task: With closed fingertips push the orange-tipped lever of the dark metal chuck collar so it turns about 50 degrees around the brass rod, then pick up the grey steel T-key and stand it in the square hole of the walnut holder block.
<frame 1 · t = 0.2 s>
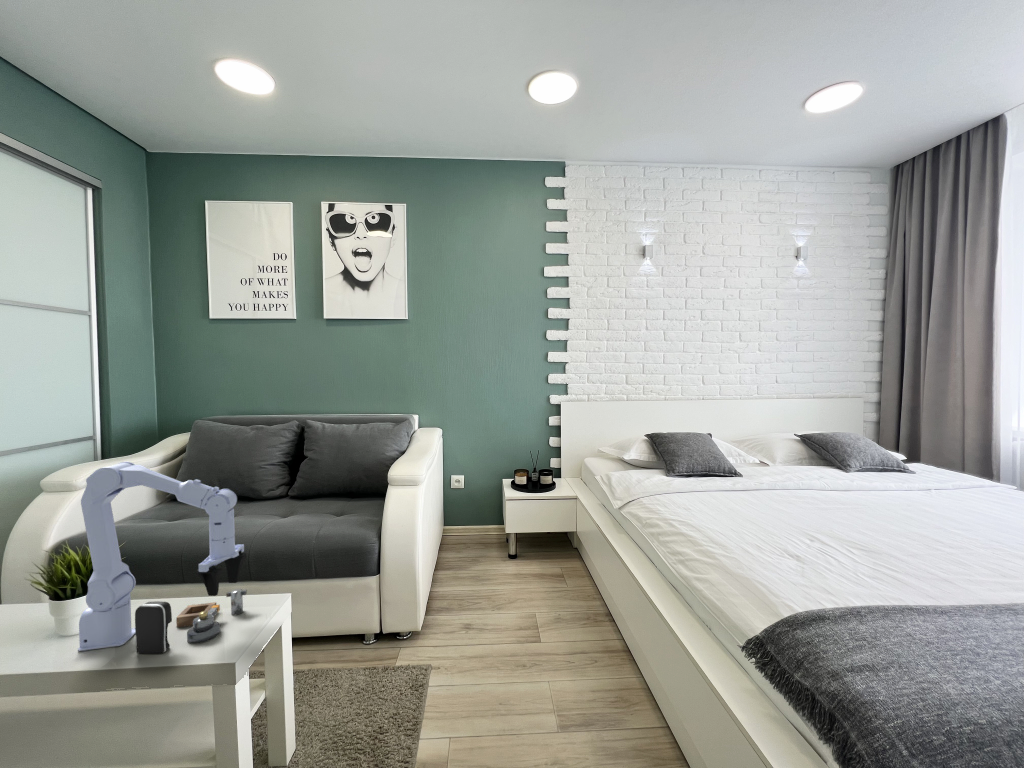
hand: (223, 588, 124), 10 cm above the table, fingers open, 7 cm apart
holder: (197, 619, 128), on the table
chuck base: (204, 636, 119), on the table
key: (237, 612, 131), on the table
collar: (208, 616, 122), point 3 cm above the table, hinge at 0.0°
battery charger: (155, 651, 113), on the table
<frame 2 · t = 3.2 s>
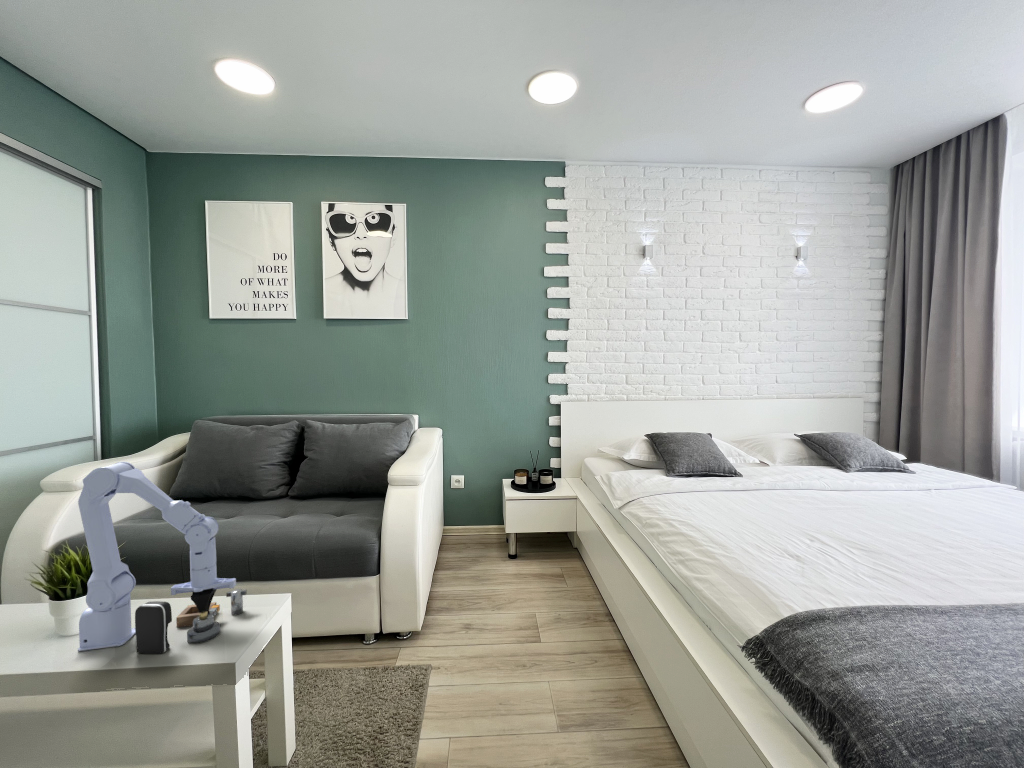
hand: (205, 618, 123), 3 cm above the table, fingers closed, pressing on collar
collar: (208, 616, 122), point 3 cm above the table, hinge at 0.0°, touching gripper
everything else where it was.
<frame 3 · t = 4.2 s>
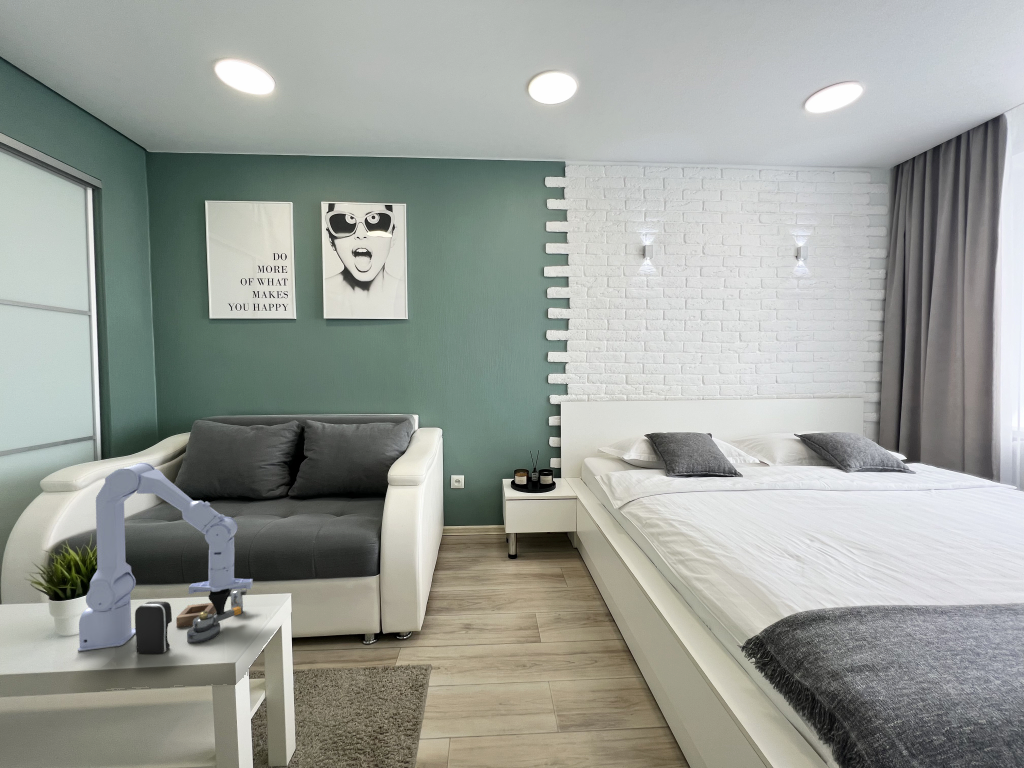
hand: (220, 617, 124), 2 cm above the table, fingers closed, pressing on collar
collar: (217, 617, 121), point 3 cm above the table, hinge at 51.4°, touching gripper
everything else where it was.
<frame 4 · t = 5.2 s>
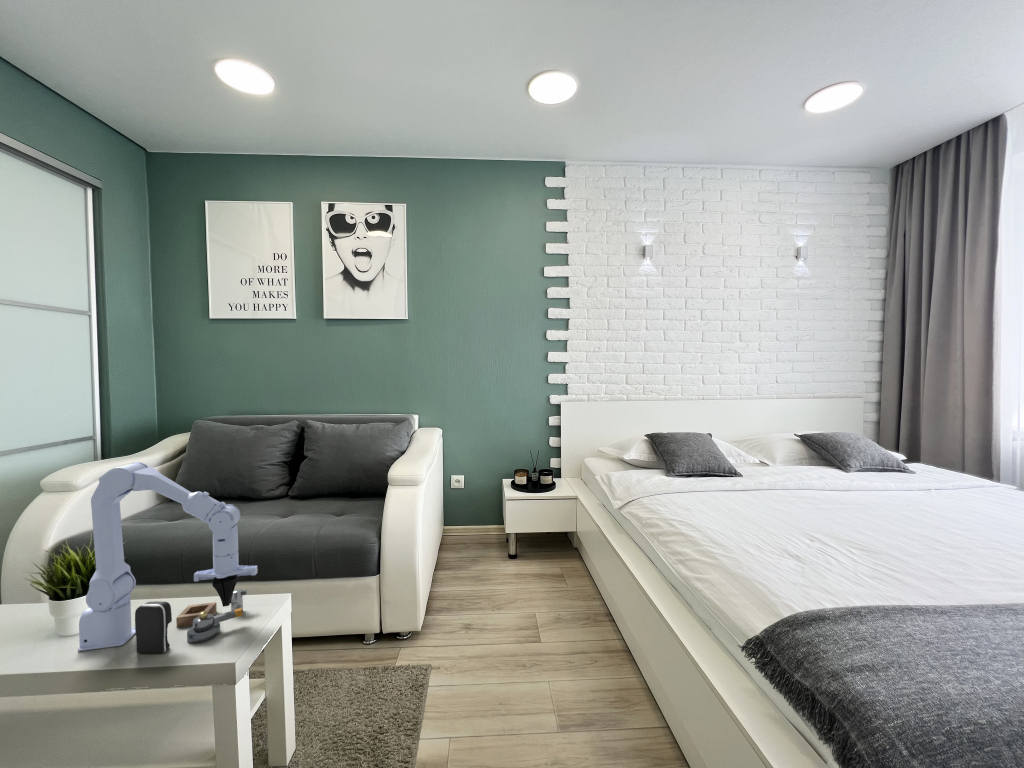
hand: (227, 604, 124), 5 cm above the table, fingers closed
collar: (218, 618, 121), point 3 cm above the table, hinge at 62.2°
everything else where it was.
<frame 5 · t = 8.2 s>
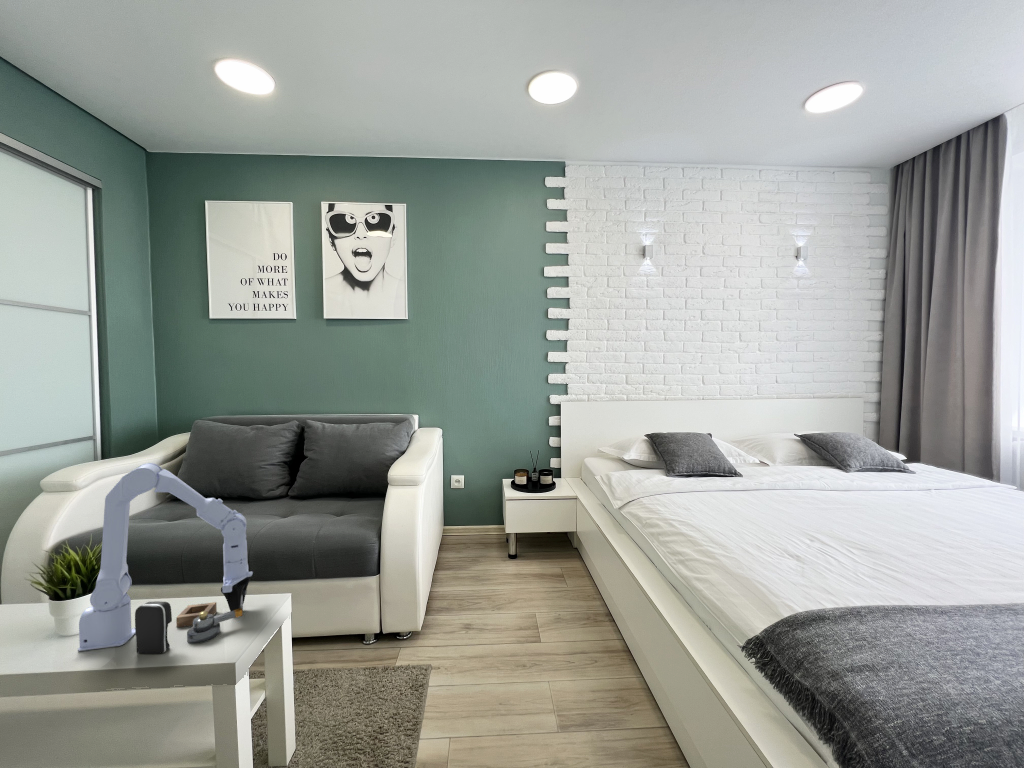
hand: (237, 607, 131), 1 cm above the table, fingers closed on key, 3 cm apart
key: (237, 612, 131), on the table, touching gripper
everything else where it was.
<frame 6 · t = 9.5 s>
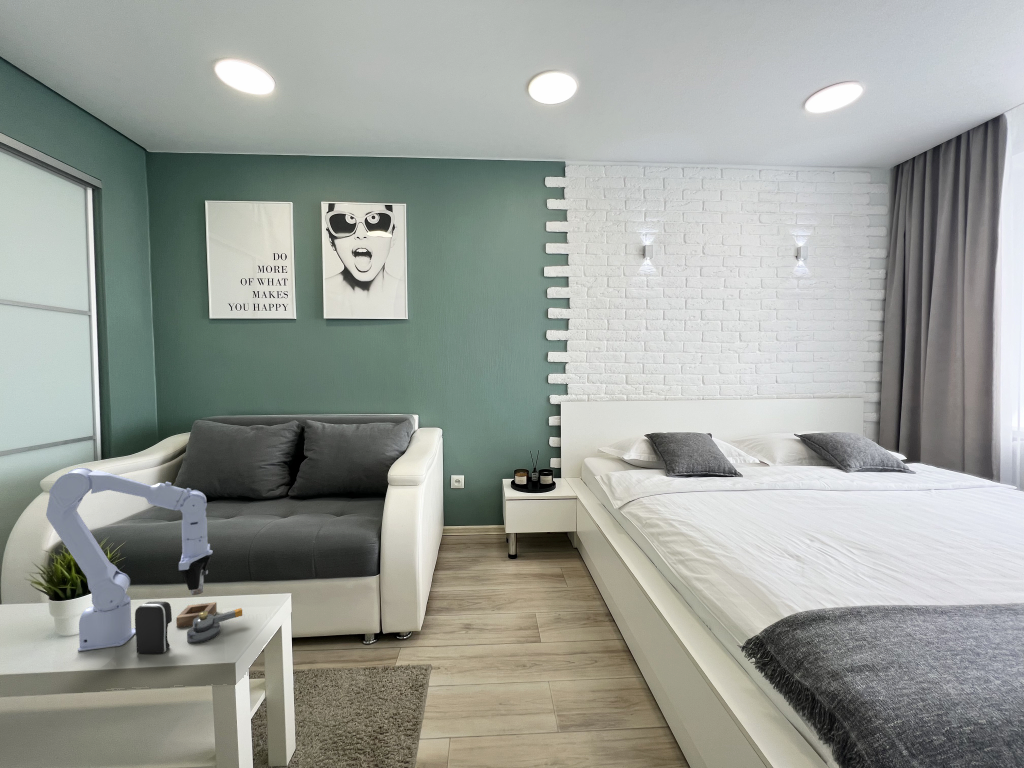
hand: (196, 586, 128), 9 cm above the table, fingers closed on key, 3 cm apart
key: (197, 592, 128), point 7 cm above the table, touching gripper
everything else where it was.
when the fingers open (3 cm above the table, at t = 10.9 s): key drops 1 cm, resting in holder.
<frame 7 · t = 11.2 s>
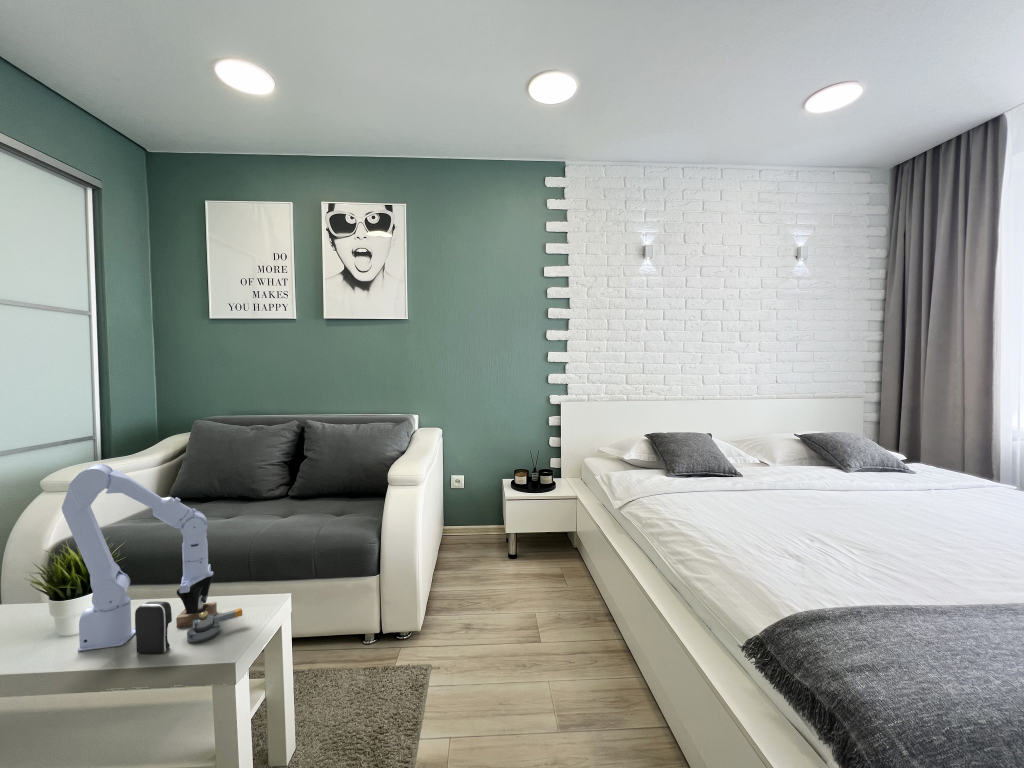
hand: (196, 608, 128), 3 cm above the table, fingers open, 5 cm apart
key: (197, 619, 128), resting in holder
everything else where it was.
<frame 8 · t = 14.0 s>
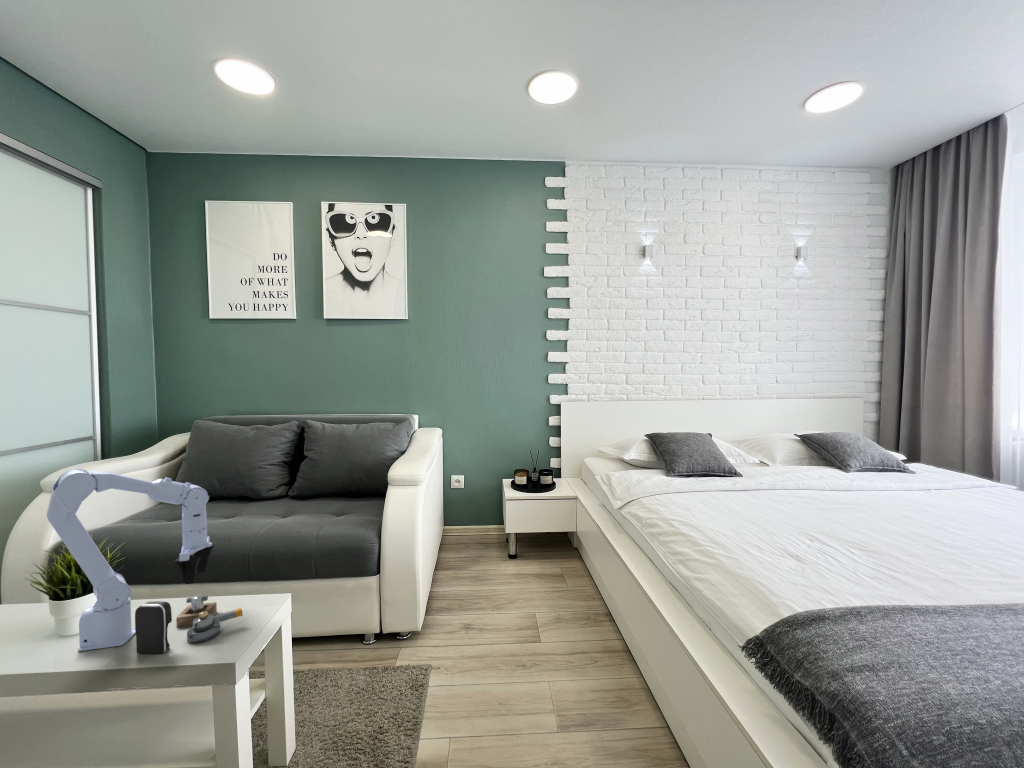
hand: (196, 577, 131), 10 cm above the table, fingers open, 7 cm apart
nothing on the table moved.
at the end: collar at +62° (first picture: +0°); key 0.2 cm off-centre on the holder, point 0.0 cm above the holder's base; key tilted 1° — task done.
